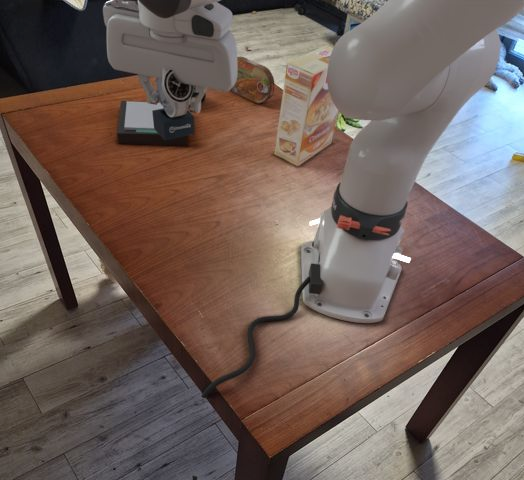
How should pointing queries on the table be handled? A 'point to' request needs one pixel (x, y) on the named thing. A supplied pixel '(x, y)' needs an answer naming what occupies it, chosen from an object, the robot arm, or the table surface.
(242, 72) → the tin
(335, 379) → the table surface
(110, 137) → the table surface
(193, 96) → the tape measure
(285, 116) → the coffeecake box
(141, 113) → the scale
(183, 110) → the watch
